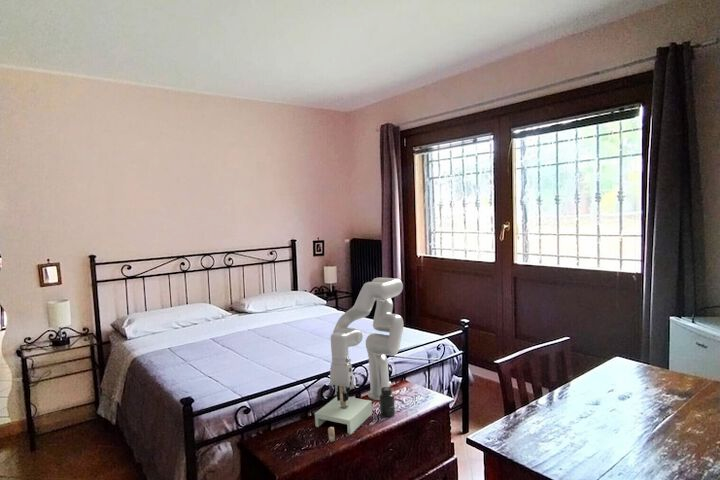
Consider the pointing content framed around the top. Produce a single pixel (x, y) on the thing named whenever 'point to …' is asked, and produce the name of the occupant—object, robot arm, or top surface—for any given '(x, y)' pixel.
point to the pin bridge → (345, 413)
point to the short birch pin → (331, 434)
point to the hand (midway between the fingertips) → (342, 399)
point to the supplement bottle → (387, 402)
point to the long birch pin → (341, 396)
